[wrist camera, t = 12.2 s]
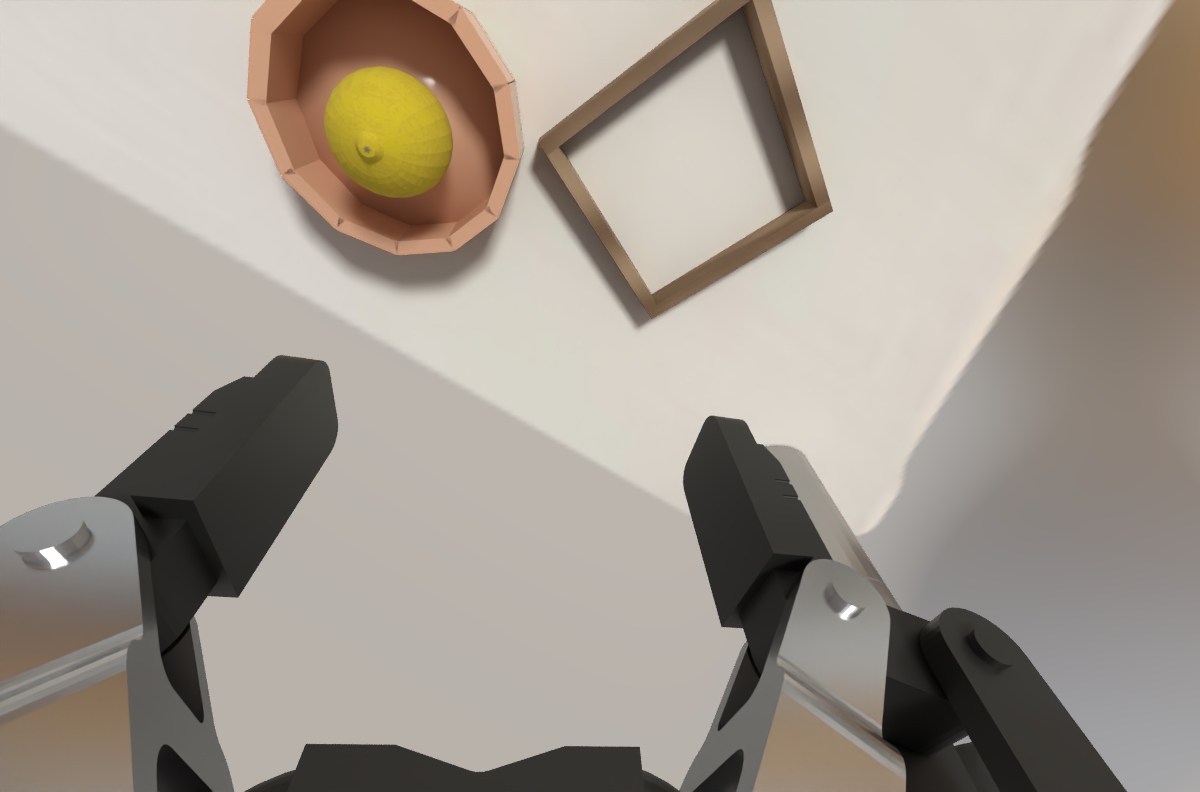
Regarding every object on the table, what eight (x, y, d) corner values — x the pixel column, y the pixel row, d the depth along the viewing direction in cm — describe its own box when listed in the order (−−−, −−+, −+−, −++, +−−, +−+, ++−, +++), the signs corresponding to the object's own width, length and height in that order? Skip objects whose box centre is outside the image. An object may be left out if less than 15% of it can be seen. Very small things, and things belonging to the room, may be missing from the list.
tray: (820, 203, 30) (832, 211, 29) (647, 308, 34) (651, 319, 33) (749, -26, 23) (761, -32, 22) (539, 138, 27) (538, 142, 25)
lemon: (366, 167, 26) (306, 202, 20) (357, 52, 23) (281, 50, 17) (462, 187, 27) (434, 227, 21) (466, 80, 24) (434, 88, 18)
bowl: (563, 156, 28) (564, 169, 24) (415, 268, 31) (399, 292, 28) (405, -97, 21) (377, -125, 18) (238, 82, 24) (190, 86, 21)
